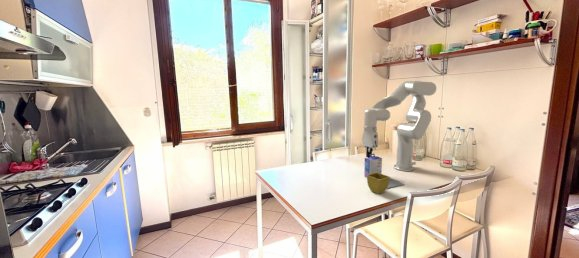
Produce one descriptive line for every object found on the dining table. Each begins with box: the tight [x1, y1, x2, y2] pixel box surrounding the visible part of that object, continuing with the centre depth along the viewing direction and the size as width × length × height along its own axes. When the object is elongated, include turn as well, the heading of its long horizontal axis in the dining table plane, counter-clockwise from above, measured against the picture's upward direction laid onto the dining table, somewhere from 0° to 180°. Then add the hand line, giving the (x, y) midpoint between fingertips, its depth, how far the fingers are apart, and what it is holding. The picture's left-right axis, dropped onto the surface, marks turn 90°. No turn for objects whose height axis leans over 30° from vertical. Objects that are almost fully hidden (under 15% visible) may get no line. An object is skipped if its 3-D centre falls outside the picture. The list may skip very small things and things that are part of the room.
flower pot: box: [366, 173, 391, 195], centre depth 136 cm, size 9×9×9 cm
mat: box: [386, 177, 405, 190], centre depth 149 cm, size 14×15×1 cm
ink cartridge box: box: [363, 153, 383, 178], centre depth 158 cm, size 10×6×14 cm, turn 113°
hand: (368, 157), depth 161 cm, fingers closed
